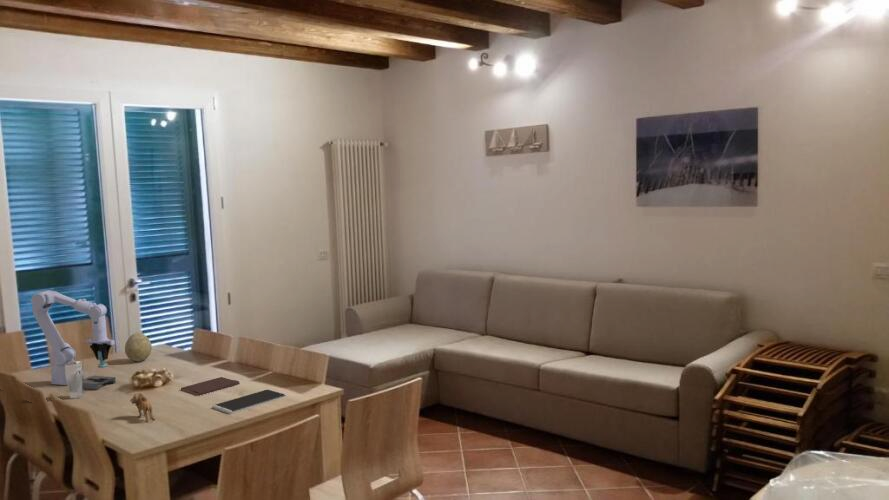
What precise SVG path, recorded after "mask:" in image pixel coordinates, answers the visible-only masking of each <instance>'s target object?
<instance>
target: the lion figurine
mask: <svg viewBox="0 0 889 500" xmlns="http://www.w3.org/2000/svg"><path fill="white" fill-rule="evenodd" d="M133 395H134V396H133V397H132V398H131V399H130V400H129V402H130V403H131V404H132V405H135V406H136V408H137V409H138V411H137V412H138V416H137V417H140V418H142V417H143V415H144V418H145V421H144V422H145V423H148V422H149V418H150V419H151V420H152V421H156V419H155V417H154V415H153V406H152V404H151V403H150V402H148V400H147V398H146V397H145V395H144V394H142V393H139V392H136V393H134V394H133ZM148 416H149V417H148Z"/></svg>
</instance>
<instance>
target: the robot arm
mask: <svg viewBox="0 0 889 500" xmlns="http://www.w3.org/2000/svg"><path fill="white" fill-rule="evenodd" d="M30 303H31V305H32V315H33V316H34V319H35V321H36V322H37V324H38V326H39V327H40V329H41V332H42V333H43V334H44V336H45V338H46V340H47V342H48V343H49V345H50V347H51V349H50V356H51V360H52V363H53V365H52V367H51V368H50V369H51V370H50V374H51V375H50V376H51V382H50V384H51V385H59V386H68V384H67V381H66V377H65V363H68V362H72V361H75V360H74V359H75V358H76V357H77V353H76V350H75V349H74V348H72V347H71V345H70V344H69V343H68V342H65V341H64V340H63V337H62V336H61V334H60V331H58V328H57V326H56V325H55V323H54V322H53V321H54V320H53V319H52V318H51V316H50V314H49V310H50V308H51V306H52V305H53V304H54V303H58V304H61V305H65V306H68V307H72V308H73V309H74V311H76V312H79V313H81V314H85V315H87V316H89V318H90V319H91V327H92V338H89V339H88V338H87V339H86V344H87V345H89V348H90V349H91V350H92V352H93V353H94V356H95V359H96V360H98V351H100V350H101V353H102V358H103V360H105V361H107V360H108V357H109V353H110V350H111V347H112V346H113V345H115V344H116V343H115V340H114V339H110V338H109V337H108V334H107V333H108V332H107V321H106V320H107V319H106V314H107V313H108V309H107V307H106V306H105V305H104V304H103V303H99V304H98V303H96V302H91V301H87V298H79V299H78V300H77V299H75V298H73V297H69V296H67V295H64V294H62V293H60V292H58V291H54V290H52V289H47V290H45V291H41V292H40V291H39V292H36V293H34V294H33V295H32V297H31V299H30ZM98 361H99V360H98Z"/></svg>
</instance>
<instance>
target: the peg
mask: <svg viewBox="0 0 889 500" xmlns="http://www.w3.org/2000/svg"><path fill="white" fill-rule="evenodd" d="M98 361H99V364H97V367H98V368H99V369H100V368H101V369H102V368H106V367H109V365H108V363H107V362H105V361H106V360H103V358H102V353H101V350H100V351H98Z"/></svg>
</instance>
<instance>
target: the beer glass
mask: <svg viewBox="0 0 889 500" xmlns="http://www.w3.org/2000/svg"><path fill="white" fill-rule="evenodd" d="M65 377H66V381H67V384H68V385H67V386H68V399H70V400H74V399H75V400H76V399H80V398H83V397H85V392H84V389H83V379H84V365H83V361H82V360H74V361H72V362H68V363H65Z"/></svg>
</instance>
